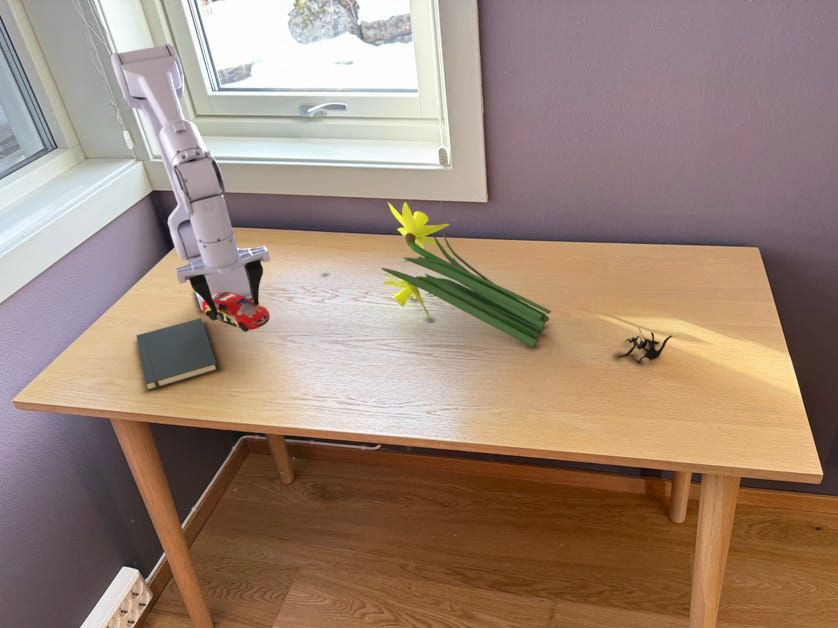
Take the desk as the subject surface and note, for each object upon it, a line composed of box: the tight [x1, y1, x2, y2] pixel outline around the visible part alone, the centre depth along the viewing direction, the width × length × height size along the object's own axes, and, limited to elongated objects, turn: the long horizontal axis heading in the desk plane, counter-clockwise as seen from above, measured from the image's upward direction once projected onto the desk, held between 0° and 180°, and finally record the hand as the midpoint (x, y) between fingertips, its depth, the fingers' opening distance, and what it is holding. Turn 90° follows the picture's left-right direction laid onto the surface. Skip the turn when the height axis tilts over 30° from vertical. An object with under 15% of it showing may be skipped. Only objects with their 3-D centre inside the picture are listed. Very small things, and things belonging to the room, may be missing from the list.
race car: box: [202, 292, 271, 333], centre depth 129 cm, size 13×5×4 cm, turn 57°
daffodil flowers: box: [378, 201, 552, 348], centre depth 130 cm, size 17×15×35 cm
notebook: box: [136, 317, 219, 392], centre depth 128 cm, size 11×16×1 cm
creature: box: [618, 328, 674, 364], centre depth 120 cm, size 8×5×8 cm
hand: (235, 307), depth 128 cm, fingers closed on race car, 6 cm apart
